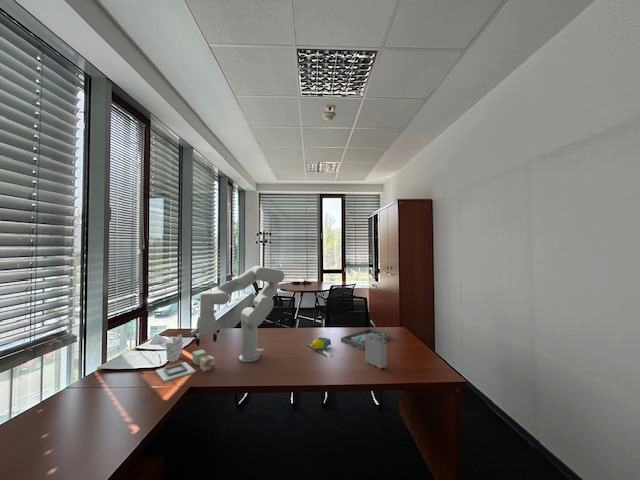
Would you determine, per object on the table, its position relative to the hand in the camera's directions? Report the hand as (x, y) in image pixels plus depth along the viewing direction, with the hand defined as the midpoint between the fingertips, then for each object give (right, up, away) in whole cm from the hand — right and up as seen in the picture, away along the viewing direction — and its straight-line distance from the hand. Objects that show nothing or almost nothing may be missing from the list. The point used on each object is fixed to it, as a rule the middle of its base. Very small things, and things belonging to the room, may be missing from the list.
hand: (206, 343), depth 165 cm
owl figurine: (+66, -16, +30) cm, 74 cm away
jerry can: (+100, -15, +4) cm, 101 cm away
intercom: (+102, -15, +48) cm, 114 cm away
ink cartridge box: (-25, -15, +12) cm, 31 cm away
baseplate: (-15, -15, -5) cm, 22 cm away
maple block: (0, -15, 0) cm, 15 cm away
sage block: (-8, -15, +9) cm, 19 cm away
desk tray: (+100, -15, +48) cm, 112 cm away
